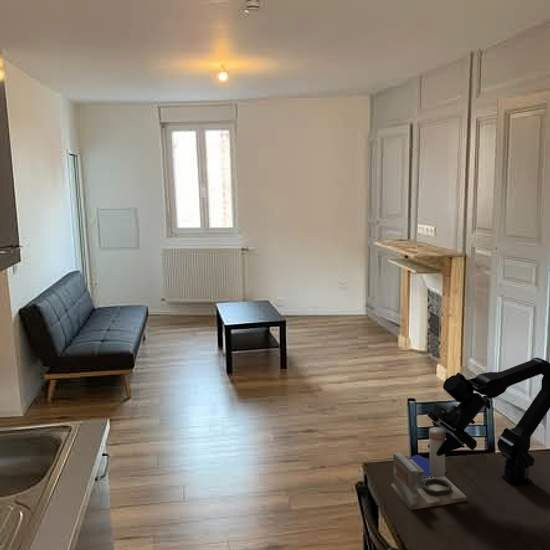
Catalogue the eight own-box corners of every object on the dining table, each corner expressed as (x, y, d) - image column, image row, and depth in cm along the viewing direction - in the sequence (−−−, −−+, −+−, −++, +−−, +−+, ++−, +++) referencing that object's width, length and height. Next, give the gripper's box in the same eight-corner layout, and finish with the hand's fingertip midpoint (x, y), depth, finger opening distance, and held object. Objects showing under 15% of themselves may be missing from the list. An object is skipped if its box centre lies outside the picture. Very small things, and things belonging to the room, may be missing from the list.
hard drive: (400, 460, 187) (428, 475, 177) (418, 454, 192) (446, 468, 181) (400, 465, 188) (428, 480, 177) (418, 458, 192) (446, 472, 181)
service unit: (443, 479, 176) (444, 445, 175) (466, 500, 164) (467, 464, 162) (391, 487, 172) (391, 452, 171) (410, 509, 160) (410, 472, 158)
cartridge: (444, 468, 169) (444, 427, 167) (446, 476, 164) (446, 433, 163) (428, 468, 170) (428, 426, 168) (429, 475, 165) (429, 433, 163)
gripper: (432, 384, 174) (400, 423, 173) (467, 405, 156) (431, 449, 155) (455, 405, 177) (424, 444, 176) (492, 428, 159) (457, 472, 158)
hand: (433, 451), depth 166 cm, fingers closed on cartridge, 4 cm apart
